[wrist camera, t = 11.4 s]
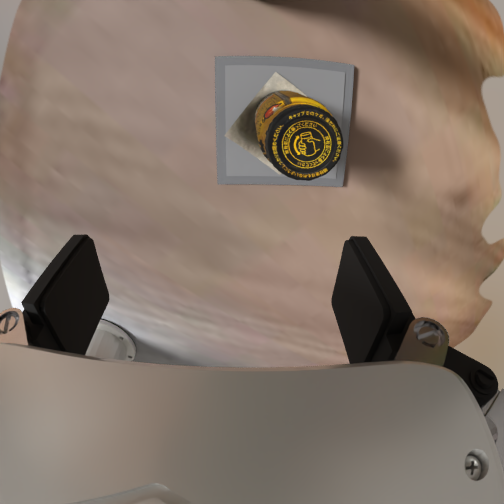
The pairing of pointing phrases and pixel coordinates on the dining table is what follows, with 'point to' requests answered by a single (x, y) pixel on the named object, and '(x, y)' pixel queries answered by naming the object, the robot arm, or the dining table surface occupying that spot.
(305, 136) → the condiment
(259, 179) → the plate
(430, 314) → the dining table surface
